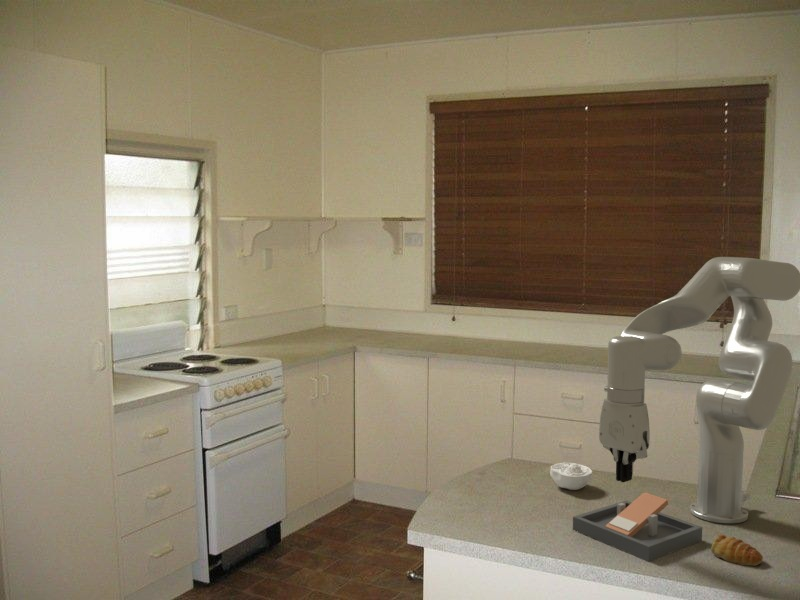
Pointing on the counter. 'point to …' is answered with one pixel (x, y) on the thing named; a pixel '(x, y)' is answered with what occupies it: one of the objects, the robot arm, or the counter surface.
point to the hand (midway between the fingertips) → (624, 480)
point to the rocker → (637, 514)
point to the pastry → (735, 551)
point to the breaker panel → (639, 532)
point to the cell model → (570, 475)
